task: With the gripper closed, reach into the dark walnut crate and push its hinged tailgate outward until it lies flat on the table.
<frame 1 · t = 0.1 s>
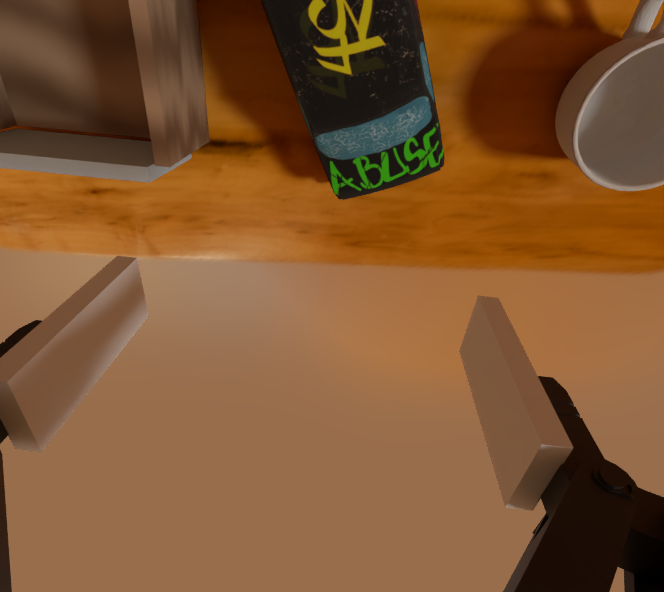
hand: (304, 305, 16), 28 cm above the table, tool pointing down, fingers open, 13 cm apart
crate: (87, 23, 35), on the table
teacup: (609, 84, 35), on the table
toy van: (350, 33, 35), on the table
tailgate: (76, 152, 36), point 6 cm above the table, hinge at -2.0°
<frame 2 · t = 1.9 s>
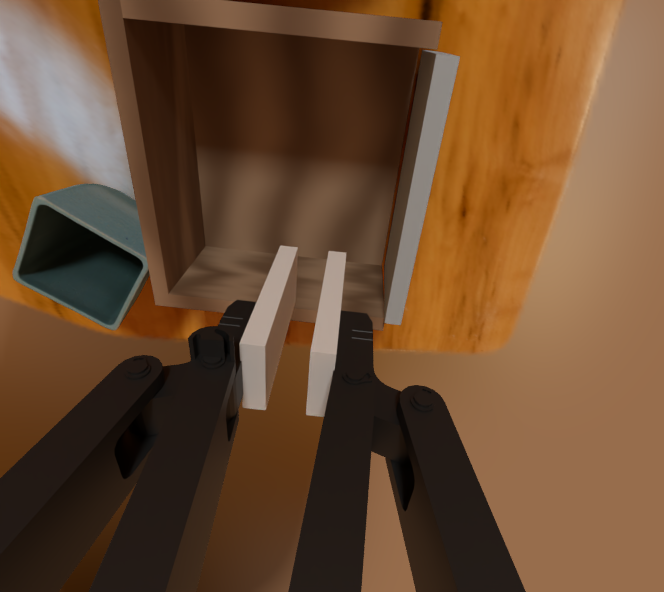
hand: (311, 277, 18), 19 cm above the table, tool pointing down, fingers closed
flower pot: (135, 224, 39), on the table
crate: (291, 157, 34), on the table
tailgate: (411, 191, 29), point 6 cm above the table, hinge at -2.0°
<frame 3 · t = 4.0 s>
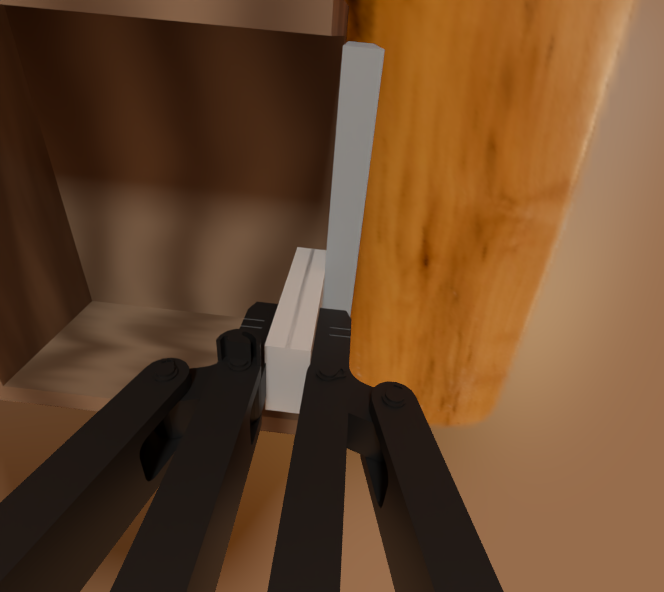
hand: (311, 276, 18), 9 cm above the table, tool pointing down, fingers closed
crate: (189, 189, 25), on the table
tailgate: (341, 247, 20), point 6 cm above the table, hinge at 1.5°, touching gripper
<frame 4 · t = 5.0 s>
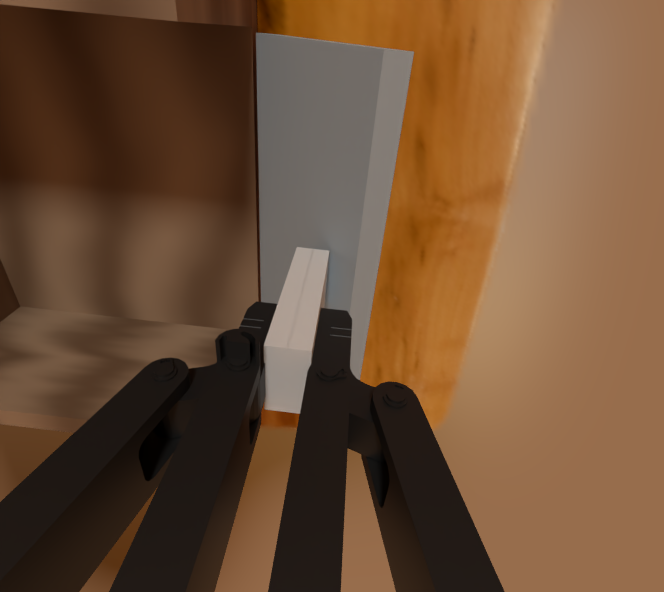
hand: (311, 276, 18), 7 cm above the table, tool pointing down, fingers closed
crate: (110, 190, 24), on the table
tailgate: (309, 246, 20), point 5 cm above the table, hinge at 37.5°, touching gripper
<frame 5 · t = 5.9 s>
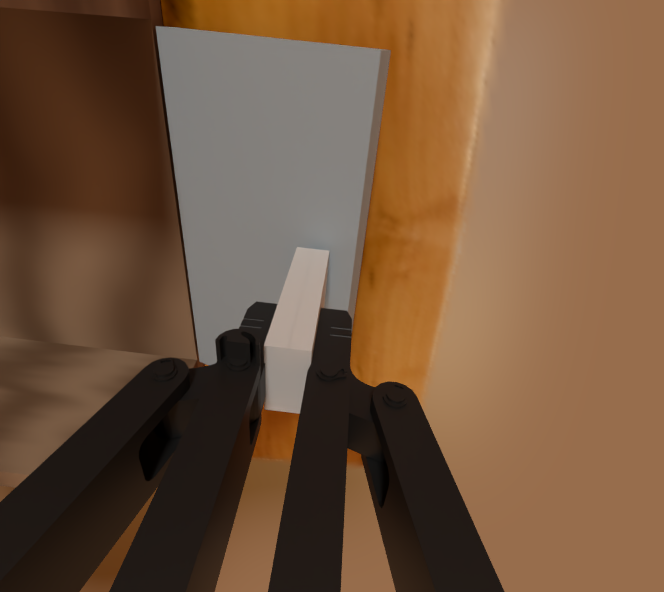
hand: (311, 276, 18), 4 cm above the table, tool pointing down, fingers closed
crate: (20, 203, 21), on the table
tailgate: (268, 249, 19), point 2 cm above the table, hinge at 72.7°, touching gripper
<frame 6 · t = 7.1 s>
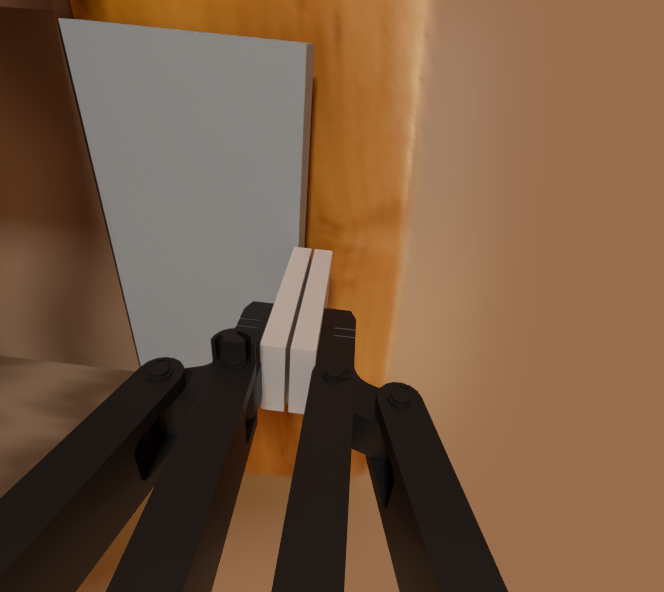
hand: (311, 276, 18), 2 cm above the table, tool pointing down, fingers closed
tailgate: (207, 249, 19), point 1 cm above the table, hinge at 83.9°, touching gripper
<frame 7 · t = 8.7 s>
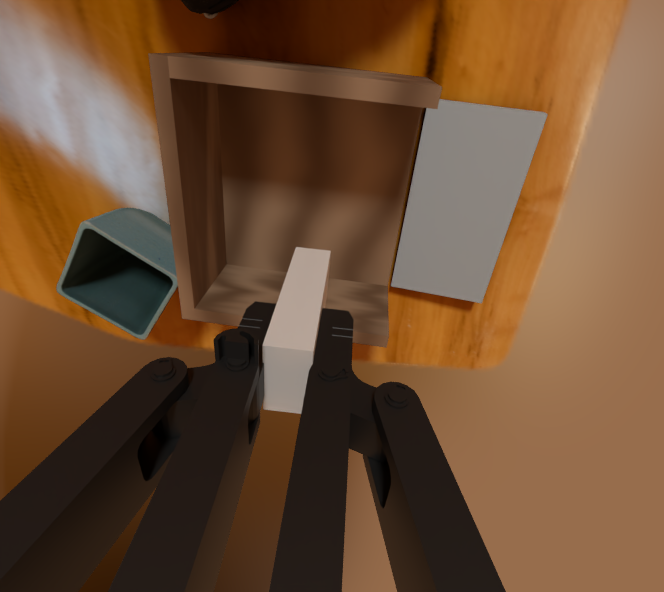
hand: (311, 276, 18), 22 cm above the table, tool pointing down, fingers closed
flower pot: (163, 243, 43), on the table
crate: (307, 187, 38), on the table
tailgate: (457, 210, 36), point 1 cm above the table, hinge at 83.9°
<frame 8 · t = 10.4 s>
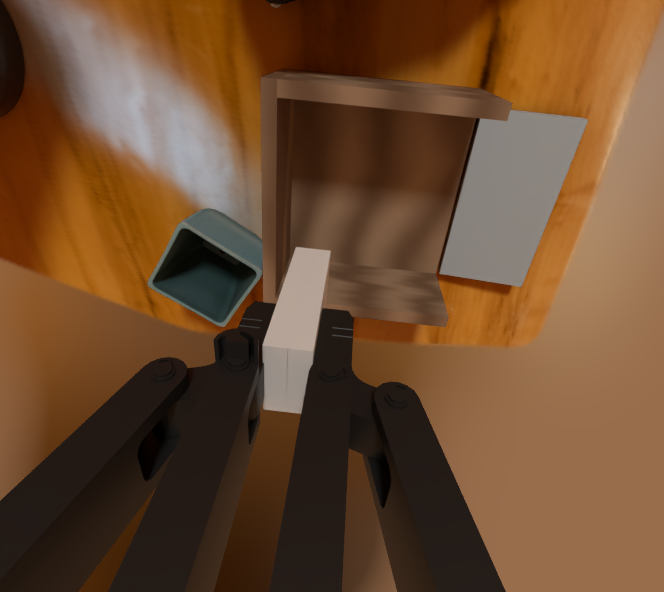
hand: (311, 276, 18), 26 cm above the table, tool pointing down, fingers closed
flower pot: (230, 239, 47), on the table
crate: (367, 186, 42), on the table
tailgate: (503, 204, 41), point 1 cm above the table, hinge at 83.9°
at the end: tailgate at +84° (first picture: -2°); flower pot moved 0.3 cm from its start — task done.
